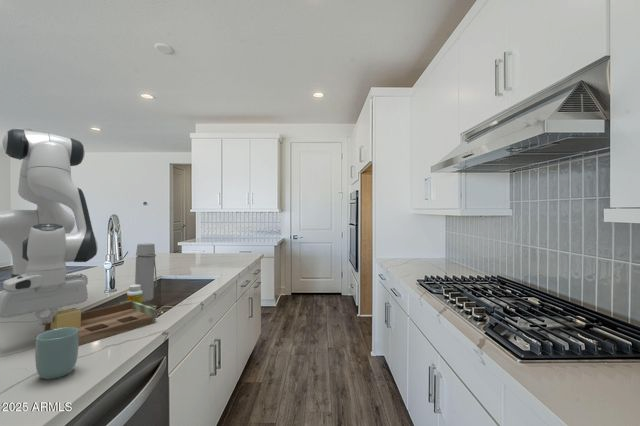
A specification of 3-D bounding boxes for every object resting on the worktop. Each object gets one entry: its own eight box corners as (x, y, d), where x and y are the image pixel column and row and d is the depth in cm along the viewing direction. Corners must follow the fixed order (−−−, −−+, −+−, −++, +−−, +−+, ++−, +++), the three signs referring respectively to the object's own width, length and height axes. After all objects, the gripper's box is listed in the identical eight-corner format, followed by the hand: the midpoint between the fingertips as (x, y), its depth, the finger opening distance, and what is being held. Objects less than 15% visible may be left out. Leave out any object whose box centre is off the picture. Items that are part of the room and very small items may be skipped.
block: (50, 328, 93) (50, 312, 93) (74, 323, 98) (74, 307, 98) (56, 332, 90) (57, 315, 90) (80, 326, 95) (81, 310, 95)
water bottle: (141, 303, 128) (143, 245, 128) (130, 300, 131) (132, 244, 131) (161, 298, 136) (162, 243, 136) (150, 296, 139) (152, 242, 140)
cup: (34, 374, 72) (35, 332, 72) (75, 363, 77) (77, 324, 77) (34, 388, 66) (36, 342, 66) (79, 375, 72) (80, 333, 72)
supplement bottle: (134, 312, 117) (135, 287, 117) (122, 311, 118) (123, 286, 118) (145, 308, 122) (146, 284, 122) (134, 307, 123) (134, 283, 123)
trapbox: (44, 336, 93) (44, 319, 93) (132, 314, 115) (133, 299, 115) (64, 349, 84) (64, 330, 84) (155, 322, 106) (155, 307, 107)
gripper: (83, 271, 100) (82, 312, 100) (-5, 282, 83) (-7, 332, 83) (92, 274, 97) (90, 316, 97) (1, 285, 80) (0, 337, 79)
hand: (45, 324), depth 90 cm, fingers closed
